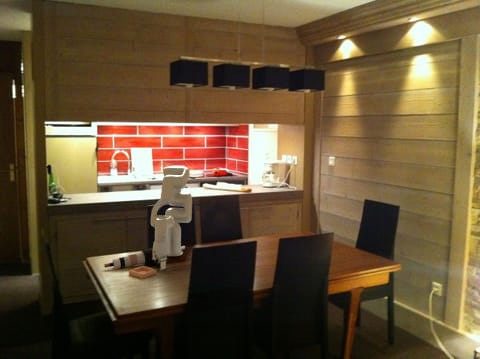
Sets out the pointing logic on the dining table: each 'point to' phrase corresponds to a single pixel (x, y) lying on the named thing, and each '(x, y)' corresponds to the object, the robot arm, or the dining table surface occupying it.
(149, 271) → the dish
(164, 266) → the block
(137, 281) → the dining table surface
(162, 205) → the robot arm
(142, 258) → the striped tapered cylinder
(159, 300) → the dining table surface
